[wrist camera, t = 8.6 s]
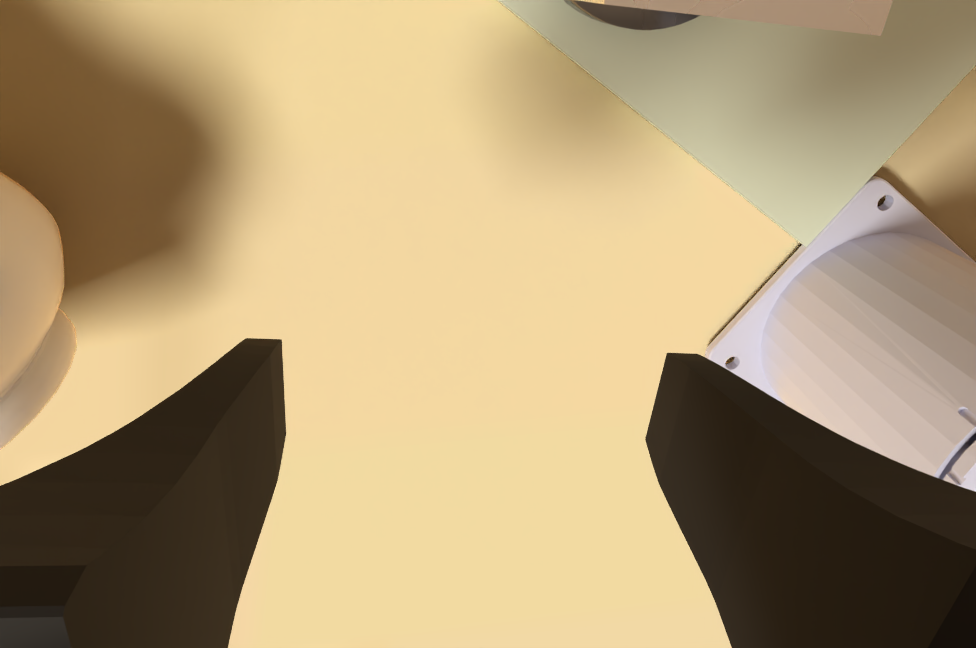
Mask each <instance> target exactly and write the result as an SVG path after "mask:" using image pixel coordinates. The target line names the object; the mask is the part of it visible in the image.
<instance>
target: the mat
mask: <svg viewBox="0 0 976 648" xmlns="http://www.w3.org/2000/svg"><path fill="white" fill-rule="evenodd" d="M497 1H499V2H500V3H501V4H502V5H504V6H505V7H506V8H507V9H509V10H510V11H511V12H512V13H514V14H515V15H516V16H517V17H519V18H520V19H521V20H522V21H524V22H525V23H526V24H527V25H529V26H530V27H531V28H532V29H534V30H535V31H536V32H537V33H539V34H540V35H541V36H542V37H544V38H545V39H546V40H547V41H549V42H550V43H551V44H552V45H554V46H555V47H556V48H557V49H559V50H560V51H561V52H562V53H563V54H565V55H566V56H567V57H568V58H570V59H571V60H572V61H573V62H575V63H576V64H577V65H578V66H580V67H581V68H582V69H583V70H585V71H586V72H587V73H588V74H590V75H591V76H592V77H593V78H595V79H596V80H597V81H598V82H600V83H601V84H602V85H603V86H605V87H606V88H607V89H608V90H610V91H611V92H612V93H613V94H615V95H616V96H617V97H618V98H620V99H621V100H622V101H623V102H625V103H626V104H627V105H628V106H630V107H631V108H632V109H633V110H635V111H636V112H637V113H638V114H640V115H641V116H642V117H643V118H645V119H646V120H647V121H648V122H650V123H651V124H652V125H653V126H655V127H656V128H657V129H658V130H660V131H661V132H662V133H663V134H665V135H666V136H667V137H668V138H670V139H671V140H672V141H673V142H675V143H676V144H677V145H678V146H679V147H681V148H682V149H683V150H684V151H686V152H687V153H688V154H689V155H691V156H692V157H693V158H694V159H696V160H697V161H698V162H699V163H701V164H702V165H703V166H704V167H706V168H707V169H708V170H709V171H711V172H712V173H713V174H714V175H716V176H717V177H718V178H719V179H721V180H722V181H723V182H724V183H726V184H727V185H728V186H729V187H731V188H732V189H733V190H734V191H736V192H737V193H738V194H739V195H741V196H742V197H743V198H744V199H746V200H747V201H748V202H749V203H751V204H752V205H753V206H754V207H756V208H757V209H758V210H759V211H761V212H762V213H763V214H764V215H766V216H767V217H768V218H769V219H771V220H772V221H773V222H774V223H776V224H777V225H778V226H779V227H781V228H782V229H783V230H784V231H786V232H787V233H788V234H789V235H790V236H792V237H793V238H794V239H795V240H797V241H798V242H799V243H801V244H802V245H804V246H805V247H807V246H808V245H809V244H810V243H811V242H812V240H813V239H814V238H815V237H816V236H817V235H818V234H819V233H820V232H821V231H822V230H823V229H824V228H825V227H826V225H827V224H828V223H829V222H830V221H831V220H832V219H833V218H834V217H835V216H836V215H837V214H838V213H839V212H840V210H841V209H842V208H843V207H844V206H845V205H846V204H847V203H848V202H849V201H850V200H851V199H852V198H853V196H854V195H855V194H856V193H857V192H858V191H859V190H860V189H861V188H862V187H863V186H864V185H865V184H866V183H867V181H868V180H869V179H870V178H871V177H872V176H873V175H874V174H875V173H876V172H877V171H878V170H879V169H880V168H881V166H882V165H883V164H884V163H885V162H886V161H887V160H888V159H889V158H890V157H891V156H892V155H893V154H894V152H895V151H896V150H897V149H898V148H899V147H900V146H901V145H902V144H903V143H904V142H905V141H906V140H907V139H908V137H909V136H910V135H911V134H912V133H913V132H914V131H915V130H916V129H917V128H918V127H919V126H920V125H921V124H922V122H923V121H924V120H925V119H926V118H927V117H928V116H929V115H930V114H931V113H932V112H933V111H934V110H935V108H936V107H937V106H938V105H939V104H940V103H941V102H942V101H943V100H944V99H945V98H946V97H947V96H948V95H949V93H950V92H951V91H952V90H953V89H954V88H955V87H956V86H957V85H958V84H959V83H960V82H961V81H962V80H963V78H964V77H965V76H966V75H967V74H968V73H969V72H970V71H971V70H972V69H973V68H974V67H975V66H976V0H893V2H892V5H891V8H890V11H889V14H888V16H887V19H886V22H885V25H884V28H883V31H882V34H881V36H877V35H869V34H860V33H851V32H842V31H834V30H825V29H816V28H807V27H799V26H790V25H781V24H772V23H764V22H755V21H746V20H737V19H729V18H720V17H711V16H702V15H700V16H699V17H697V18H695V19H692V20H690V21H688V22H685V23H683V24H680V25H676V26H673V27H669V28H665V29H656V30H634V29H628V28H622V27H618V26H614V25H610V24H605V23H602V22H599V21H596V20H594V19H591V18H589V17H587V16H585V15H583V14H581V13H579V12H578V11H576V10H575V9H574V8H572V7H571V6H569V5H568V4H567V3H566V2H565V1H564V0H497Z"/></svg>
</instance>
